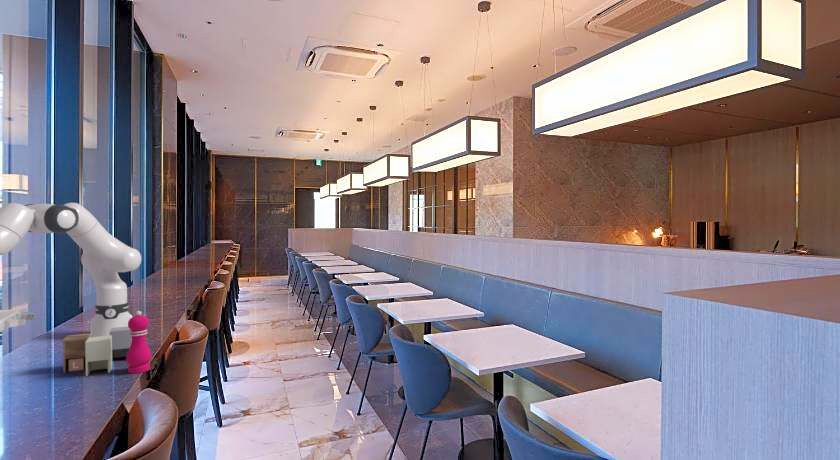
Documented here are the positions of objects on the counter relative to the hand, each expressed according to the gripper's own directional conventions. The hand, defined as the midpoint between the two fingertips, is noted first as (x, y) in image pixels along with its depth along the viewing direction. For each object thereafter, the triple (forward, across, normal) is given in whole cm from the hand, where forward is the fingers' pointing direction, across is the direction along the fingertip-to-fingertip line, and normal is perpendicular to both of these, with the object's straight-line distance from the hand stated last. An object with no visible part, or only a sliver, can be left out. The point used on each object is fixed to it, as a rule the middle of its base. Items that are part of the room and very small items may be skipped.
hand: (30, 319), depth 146 cm
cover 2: (+24, +6, +18) cm, 31 cm away
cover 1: (+19, -7, +18) cm, 27 cm away
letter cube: (+12, 0, +18) cm, 22 cm away
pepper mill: (+31, -12, +18) cm, 38 cm away
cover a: (+12, 0, +18) cm, 22 cm away
